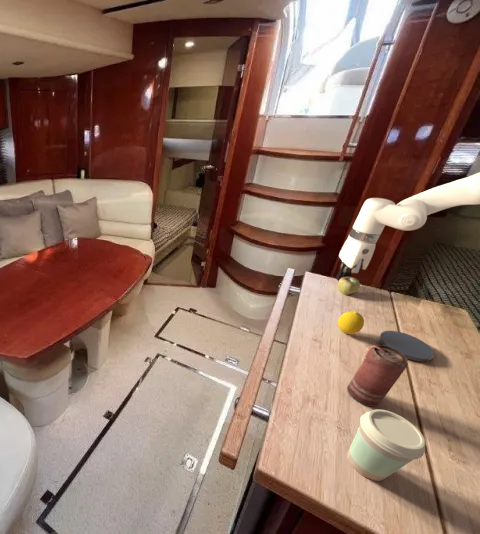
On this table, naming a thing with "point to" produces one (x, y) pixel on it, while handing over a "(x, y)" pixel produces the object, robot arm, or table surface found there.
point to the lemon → (350, 322)
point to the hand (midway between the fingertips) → (341, 280)
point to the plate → (407, 345)
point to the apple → (348, 285)
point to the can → (377, 375)
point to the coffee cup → (384, 444)
